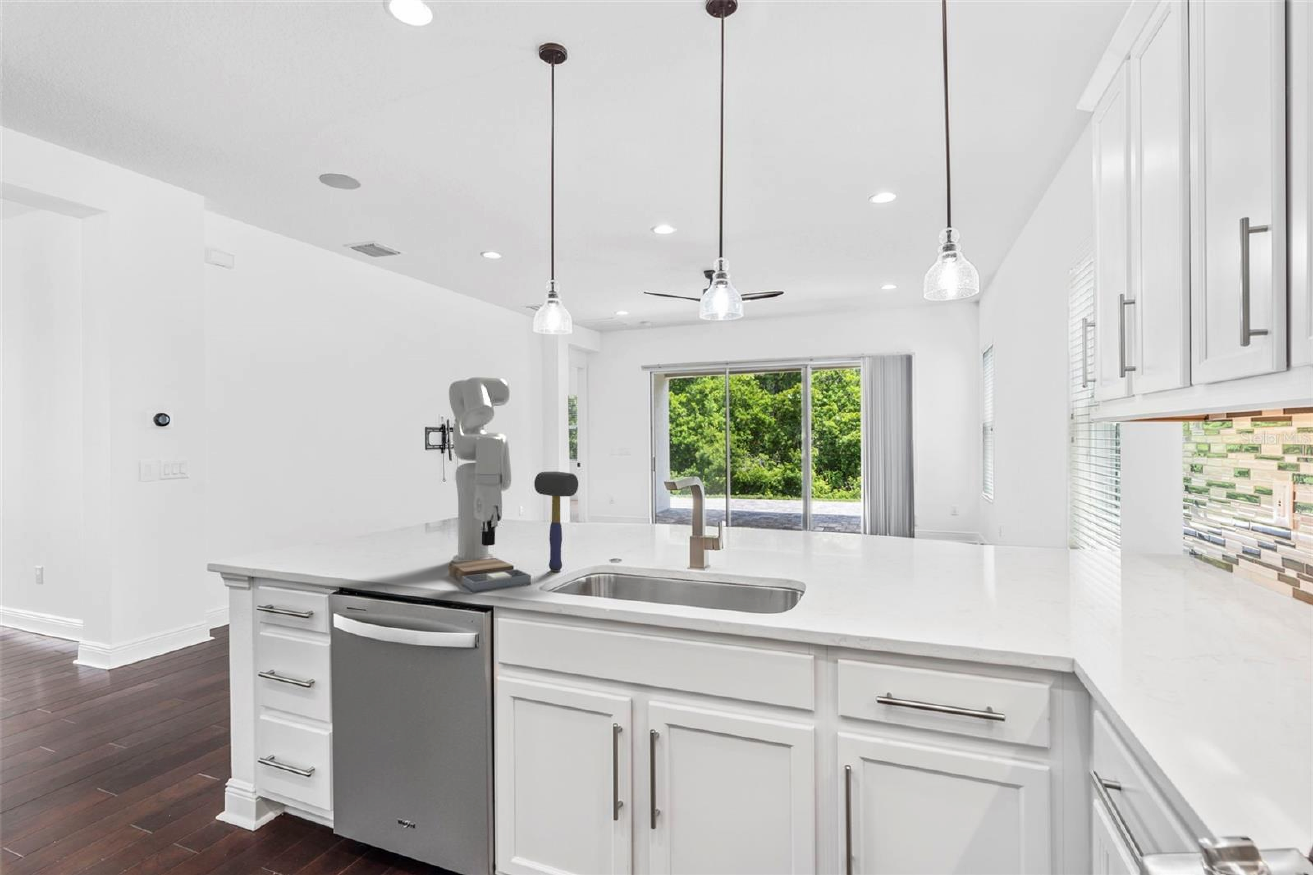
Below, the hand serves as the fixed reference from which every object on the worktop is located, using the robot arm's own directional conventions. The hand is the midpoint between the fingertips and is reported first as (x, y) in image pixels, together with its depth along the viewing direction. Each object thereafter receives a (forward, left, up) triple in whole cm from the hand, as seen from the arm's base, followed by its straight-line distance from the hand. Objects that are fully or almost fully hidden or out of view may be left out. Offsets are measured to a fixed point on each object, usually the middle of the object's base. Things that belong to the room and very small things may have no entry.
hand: (488, 544), depth 174 cm
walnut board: (-5, 0, -10) cm, 11 cm away
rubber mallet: (0, +21, -10) cm, 23 cm away
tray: (+7, 0, -10) cm, 12 cm away
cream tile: (+8, 0, -7) cm, 11 cm away
